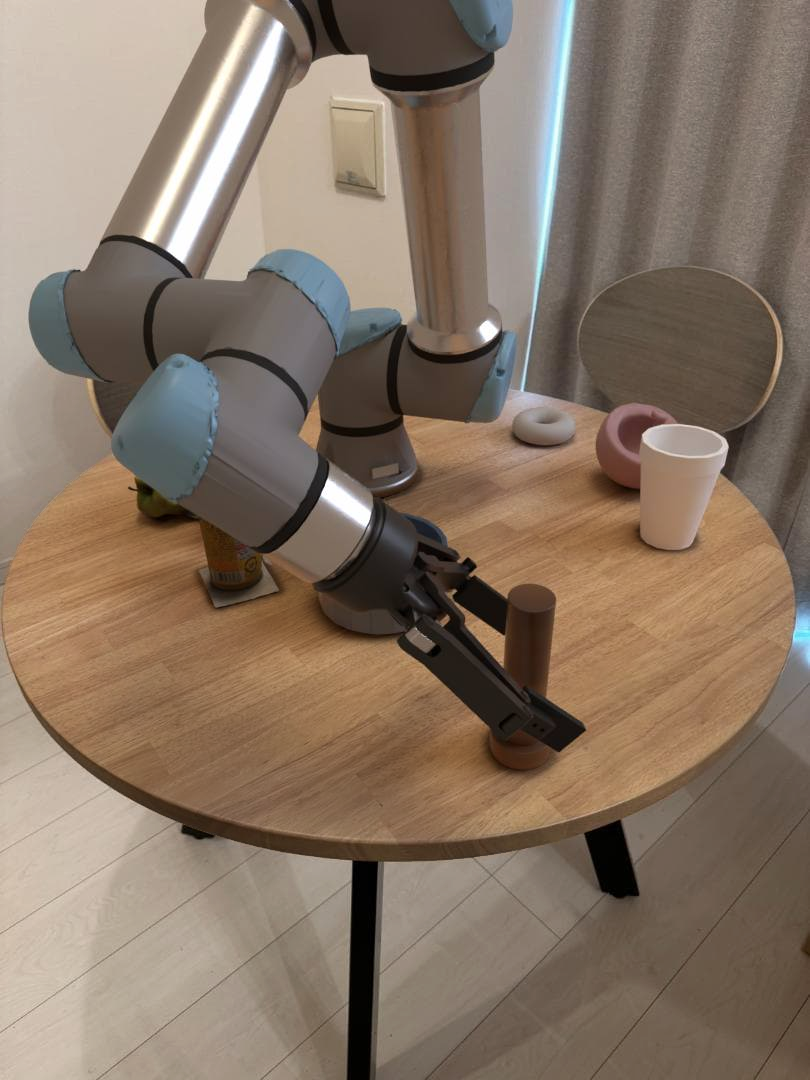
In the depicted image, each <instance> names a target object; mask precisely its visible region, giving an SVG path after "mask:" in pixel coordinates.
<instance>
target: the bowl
mask: <svg viewBox="0 0 810 1080" xmlns="http://www.w3.org/2000/svg"><path fill="white" fill-rule="evenodd" d="M399 513H400V514H402V515H403V516H404V517H406V518H407V519H408V520H410V521H411V522H412V523H413V525H414V526H415V528H416V530H417V533H418V534H421V535H423V536H425V537H427V538H430V539H432V540H434V541H437V542H439V543H441V544H443V545H446V546H448V547H449V543H448V537H447V536H446V535H445V533H444V532H443V530H442V529H441V528H440V527H439V526H438V525H436V524H434V523H433V522H431V521H430V520H428V519H426V518H423V517H420V516H417V515H414V514H411V513H405V512H399ZM444 593H445V594H446V595H447V596H448V597H449V592H444ZM317 595H318V602H319V605H320V607H321V609H322V613H323V614H324V615H326V616H327V617H328V618H329V619H330V620H331V621H332V622H333V623H334V624H336V625H338V626H339V627H343V628H344V629H347V630H349V631H351V632H359V633H362V634H368V635H394V634H399V633H404V632H405V631H406V629H405V627H404V626H400V625H399V624H398V623H397V622H396V621H395V620H394V619H393V618H392V616H391V615H390V614H389V612H388V611H387V610H386V609H376V610H372V611H368V612H364V613H354V612H351V611H349V610H347V609H345V608H344V607H342V606H341V605H339V604H337V603H336V602H334V601H333V600H331V599H329V598H328V597H326V596H325V595H323V594H321V593H320V592H318V591H317Z"/></svg>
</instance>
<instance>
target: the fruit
mask: <svg viewBox="0 0 810 1080" xmlns="http://www.w3.org/2000/svg"><path fill="white" fill-rule="evenodd" d="M134 484H135V487H136V488H133V487H131V486H128V487H127V489H128V490H129V491H133V492H136V507H137V510H138V511H139V513H142V514H143V515H145V516H147V517H149V518H154V519H159V520H163V518H162V516H164V515H181V516H185V517H190V518H194V519H196V520H199V516H198V515H196V514H194V513H193V512H191V511H189V510H188V509H186V508H184V507H183V506H181V505H179V504H178V503H173V502H171V501H169V500H167V499H165V498H164V496H163V495H162V494H160V493H159V492H158V491H156V490H155V489H154V488H152V487H151V486H149V485H148V484H146V483H145V482H144V481H142V480H141V479H139V478H138V477H136V476H134Z"/></svg>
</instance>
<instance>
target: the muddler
mask: <svg viewBox="0 0 810 1080" xmlns="http://www.w3.org/2000/svg"><path fill="white" fill-rule="evenodd" d="M506 598H507V615H506V631H505V636H504V649H503V651H504V652H503V666H502V667H503V668H504V670H505V671H506V672H507V673H508V674H509V675H510V676H511V677H512V678H513V679H514V681H515V682H516V683H517V684H518V685H519V686H520V687H521V688H523V687H524V686H525V685H527V686H528V687H530V688H531V689H533V690H534V691H536V692H537V693H539V694H540V695H542V696H543V697H545V698H546V699H547V693H548V684H549V674H550V665H551V655H552V645H553V635H554V625H555V617H556V616H555V615H556V608H557V607H556V606H557V596H556V594H555V593H554V592H553V591H552V590H551V589H550V588H549V587H546V586H545V585H542V584H538V583H522V584H518V585H515V586H513V587H511V589H510V590H509V591H508V593H507V597H506ZM489 729H490V728H489ZM551 749H552V748H551V747H549V746H547V745H546V744H544V743H542V742H541V741H539V740H538V739H536V738H534V737H533V736H531V735H529V734H528V733H526V732H525V731H523V730H521V729H519V730H518V731H517V732H516V733H515V734H513V735H512V736H511V737H510V738H509V739H508V740H506V741H504V740H502V739H501V738H500V737H499V736H498V735H497V734H496V733H495V732H494V731H493V730H491V729H490V730H489V750H490V752H491V754H492V756H493V757H494V759H495V760H496V761H498V762H499V763H500V764H502V765H503V766H505V767H507V768H510V769H512V770H519V771H525V770H533V769H536V768H539V767H540V766H541V765H543V764H544V763H545V762H546V761H547V760H548V758H549V757H550V754H551Z"/></svg>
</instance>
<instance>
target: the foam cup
mask: <svg viewBox="0 0 810 1080" xmlns="http://www.w3.org/2000/svg"><path fill="white" fill-rule="evenodd" d="M729 448H730V447H729V443H728V441H727V438H725V437H724V436H722V435H721V434H720V433H717V432H716V431H713V430H711V429H708V428H706V427H705V428H704V427H701V426H698V425H690V424H684V423H683V424H682V423H678V424H666V425H659V426H655V427H652V428H649V429H648V430H646V431H645V432H644V433H643V434H642V438H641V444H640V451H639V455H640V460H641V484H640V489H639V490H640V491H639V492H640V495H639V498H640V499H639V534H640V538H641V539H642V541H644V543H646V544H647V545H649V546H652V547H654V548H655V549H661V550H666V551H681V550H684V549H686V548H688V547H690V546H691V545H692V544H693V543H694V539H695V538H696V536H697V533H698V530H699V527H700V525H701V523H702V519H703V518H704V515H705V512H706V509H707V508H708V504H709V501H710V499H711V496H712V494H713V491H714V489H715V487H716V483H717V481H718V478H719V475H720V474H721V470H722V469H723V468H724V467H725V465H726V460H727V456H728V451H729Z"/></svg>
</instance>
